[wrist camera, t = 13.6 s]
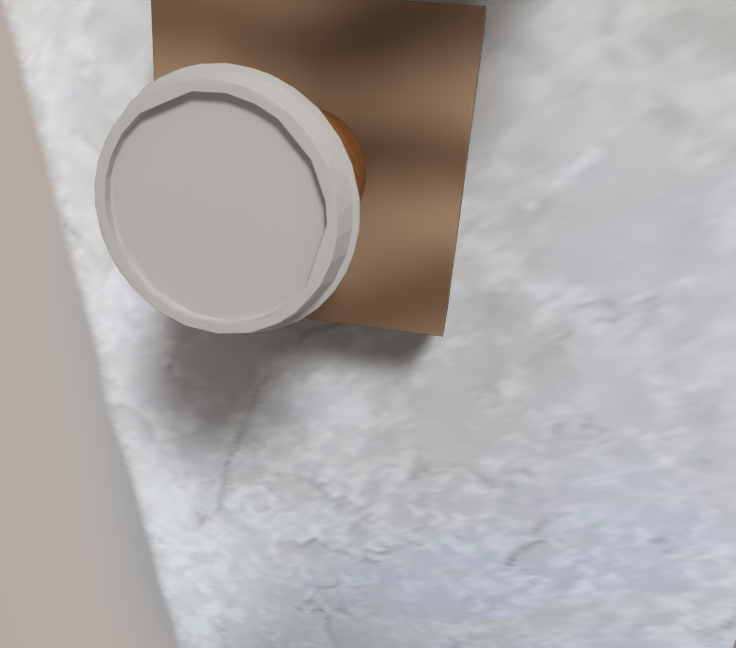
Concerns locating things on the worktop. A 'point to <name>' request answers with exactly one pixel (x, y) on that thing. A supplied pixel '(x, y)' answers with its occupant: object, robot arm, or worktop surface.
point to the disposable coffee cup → (230, 199)
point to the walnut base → (364, 124)
